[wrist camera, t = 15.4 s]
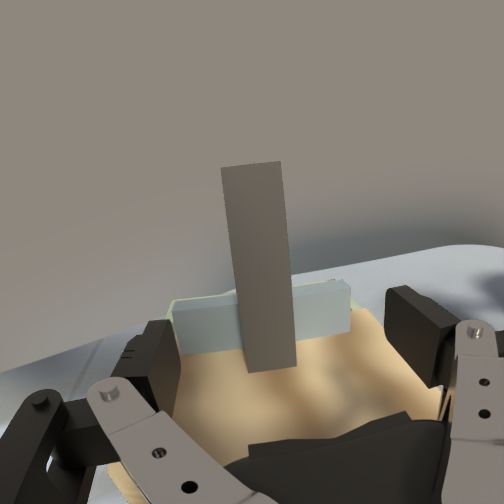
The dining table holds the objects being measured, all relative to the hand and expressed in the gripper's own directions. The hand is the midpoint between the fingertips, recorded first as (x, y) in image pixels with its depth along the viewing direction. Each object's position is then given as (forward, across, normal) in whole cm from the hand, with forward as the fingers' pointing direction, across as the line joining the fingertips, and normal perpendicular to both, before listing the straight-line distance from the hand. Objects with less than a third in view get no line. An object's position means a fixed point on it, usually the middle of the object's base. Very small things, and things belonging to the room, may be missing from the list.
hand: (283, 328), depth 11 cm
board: (+8, 0, +13) cm, 15 cm away
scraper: (+11, 0, +8) cm, 13 cm away
